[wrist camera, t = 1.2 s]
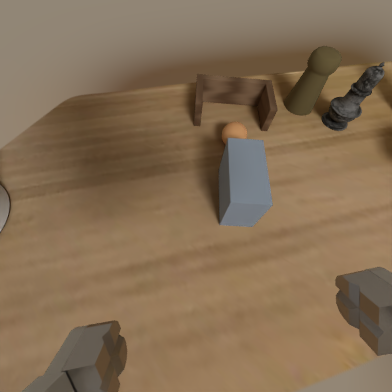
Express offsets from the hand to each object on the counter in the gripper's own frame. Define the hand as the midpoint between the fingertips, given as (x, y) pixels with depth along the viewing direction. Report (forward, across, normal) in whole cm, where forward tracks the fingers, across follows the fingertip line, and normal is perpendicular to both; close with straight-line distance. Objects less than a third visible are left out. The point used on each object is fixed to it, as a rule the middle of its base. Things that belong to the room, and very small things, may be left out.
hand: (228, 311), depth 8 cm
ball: (+33, -8, -4) cm, 35 cm away
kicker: (+26, -6, +4) cm, 27 cm away
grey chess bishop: (+38, -31, -4) cm, 49 cm away
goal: (+38, -10, -10) cm, 41 cm away
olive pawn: (+41, -25, -9) cm, 49 cm away
